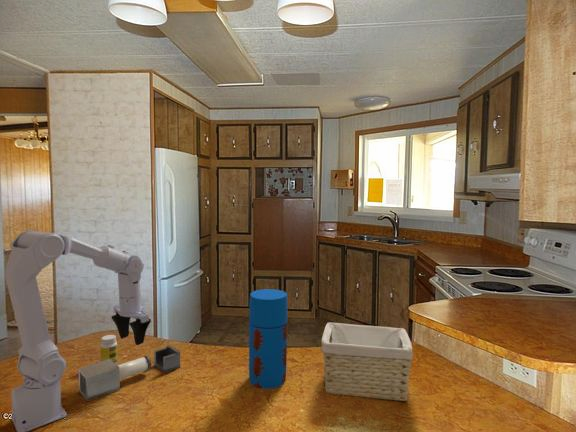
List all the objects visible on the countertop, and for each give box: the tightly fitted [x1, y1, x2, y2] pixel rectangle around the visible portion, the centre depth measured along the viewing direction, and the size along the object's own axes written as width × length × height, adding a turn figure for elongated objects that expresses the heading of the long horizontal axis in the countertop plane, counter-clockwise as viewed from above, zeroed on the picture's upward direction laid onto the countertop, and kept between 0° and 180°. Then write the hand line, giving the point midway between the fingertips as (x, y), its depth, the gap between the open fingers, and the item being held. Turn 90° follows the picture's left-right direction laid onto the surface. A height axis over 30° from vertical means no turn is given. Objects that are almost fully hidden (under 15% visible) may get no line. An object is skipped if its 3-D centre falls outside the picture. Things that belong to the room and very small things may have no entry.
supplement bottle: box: [99, 334, 118, 365], centre depth 114 cm, size 5×5×8 cm
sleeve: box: [78, 359, 121, 402], centre depth 99 cm, size 8×7×6 cm
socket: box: [153, 344, 181, 374], centre depth 113 cm, size 5×7×5 cm
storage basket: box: [321, 322, 414, 402], centre depth 104 cm, size 24×16×15 cm
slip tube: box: [116, 354, 152, 380], centre depth 103 cm, size 16×4×4 cm, turn 136°
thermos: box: [248, 288, 288, 390], centre depth 105 cm, size 11×11×25 cm
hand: (131, 340), depth 108 cm, fingers open, 7 cm apart
